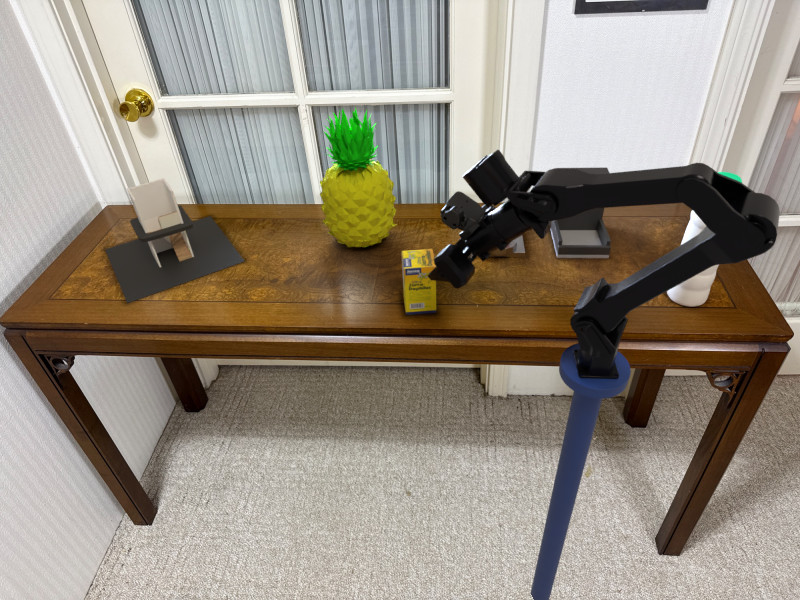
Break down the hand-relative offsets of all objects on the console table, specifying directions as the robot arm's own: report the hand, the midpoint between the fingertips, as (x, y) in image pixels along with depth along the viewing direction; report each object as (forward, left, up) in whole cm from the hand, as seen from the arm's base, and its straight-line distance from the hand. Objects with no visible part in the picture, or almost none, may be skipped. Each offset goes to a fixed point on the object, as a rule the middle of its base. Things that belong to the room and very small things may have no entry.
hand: (441, 263), depth 100 cm
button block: (+27, -12, -11) cm, 32 cm away
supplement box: (+2, +4, -11) cm, 12 cm away
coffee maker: (+25, -29, -11) cm, 40 cm away
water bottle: (+5, -46, -11) cm, 48 cm away
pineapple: (+25, +19, -11) cm, 34 cm away
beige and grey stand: (+18, +61, -11) cm, 64 cm away
